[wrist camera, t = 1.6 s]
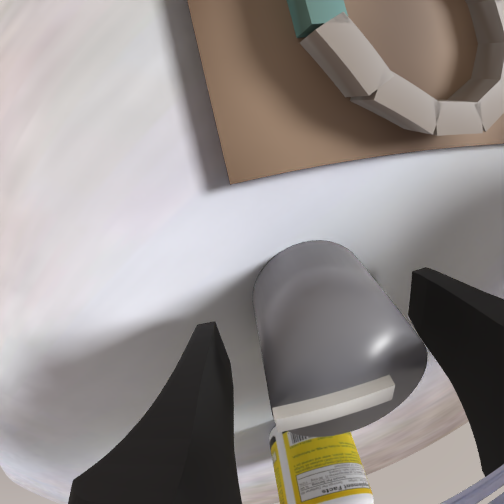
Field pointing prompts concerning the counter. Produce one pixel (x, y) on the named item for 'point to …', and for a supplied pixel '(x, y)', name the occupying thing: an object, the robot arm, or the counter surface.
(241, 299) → the counter surface
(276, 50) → the hub plate
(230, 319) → the counter surface
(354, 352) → the knob
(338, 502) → the supplement bottle
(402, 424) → the counter surface
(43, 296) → the counter surface
